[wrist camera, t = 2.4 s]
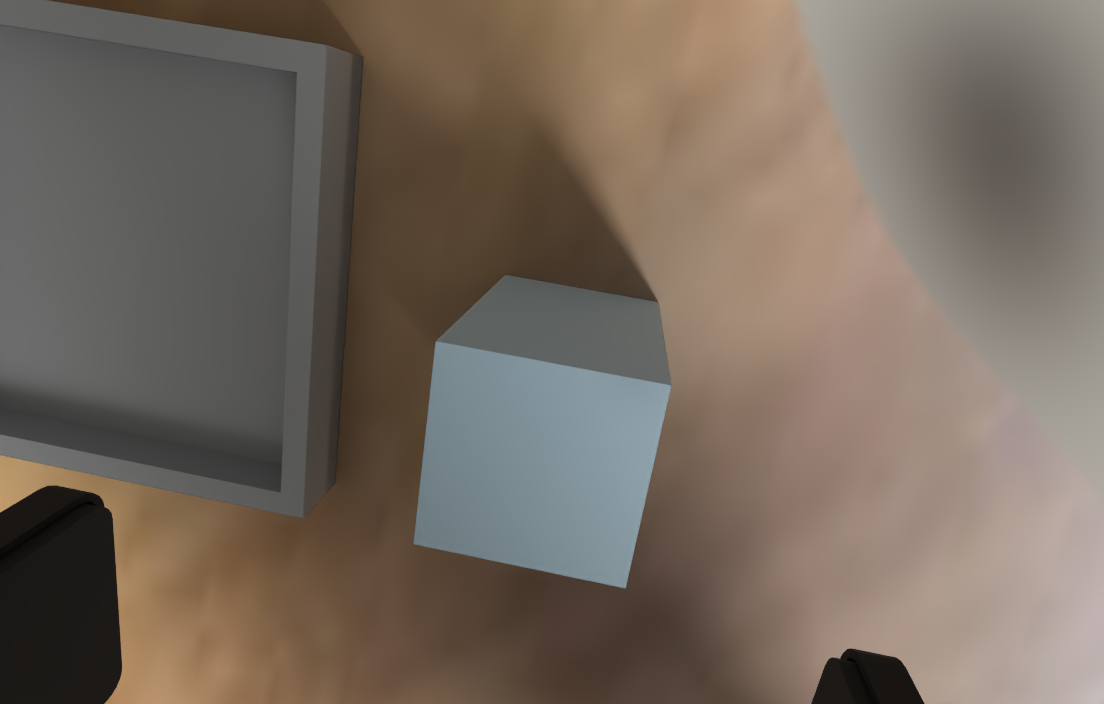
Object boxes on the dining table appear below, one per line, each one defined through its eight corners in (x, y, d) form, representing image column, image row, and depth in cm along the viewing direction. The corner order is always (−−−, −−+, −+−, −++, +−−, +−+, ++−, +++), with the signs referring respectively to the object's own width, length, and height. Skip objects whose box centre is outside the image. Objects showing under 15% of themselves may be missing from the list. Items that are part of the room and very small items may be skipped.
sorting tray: (362, 57, 20) (326, 45, 18) (334, 483, 25) (302, 518, 22) (-81, -14, 21) (-171, -35, 19) (-31, 407, 26) (-100, 434, 23)
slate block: (658, 302, 21) (671, 386, 14) (628, 443, 23) (625, 588, 15) (505, 274, 22) (435, 341, 14) (485, 415, 23) (413, 543, 16)
